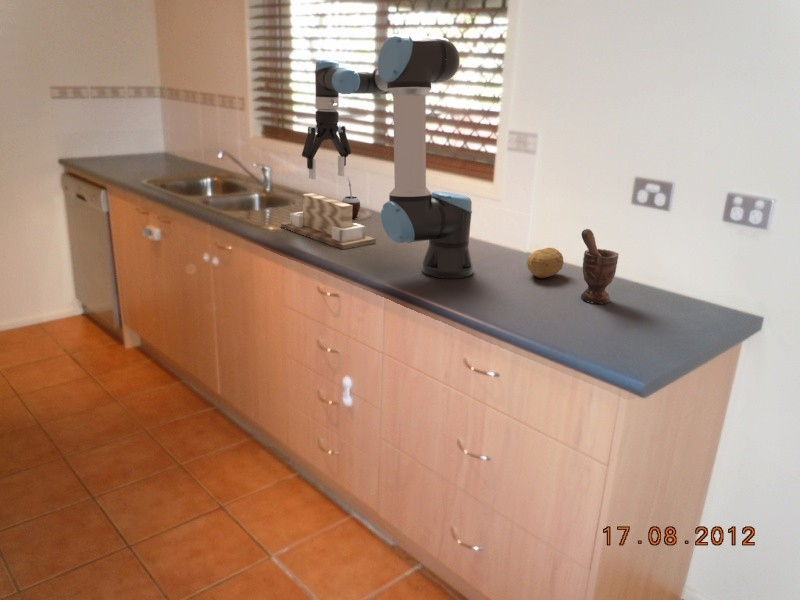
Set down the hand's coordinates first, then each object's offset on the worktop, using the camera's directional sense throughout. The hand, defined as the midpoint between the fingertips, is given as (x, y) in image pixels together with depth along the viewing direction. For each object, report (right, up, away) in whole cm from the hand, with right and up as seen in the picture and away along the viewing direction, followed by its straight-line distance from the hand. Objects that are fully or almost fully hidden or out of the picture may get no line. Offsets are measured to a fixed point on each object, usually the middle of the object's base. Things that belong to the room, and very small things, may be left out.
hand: (326, 177), depth 225 cm
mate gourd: (+5, -10, +34) cm, 36 cm away
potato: (+67, -35, -29) cm, 81 cm away
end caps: (-1, -17, +6) cm, 19 cm away
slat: (-1, -18, +6) cm, 19 cm away
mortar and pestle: (+76, -42, -48) cm, 99 cm away
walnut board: (-1, -19, +7) cm, 20 cm away
